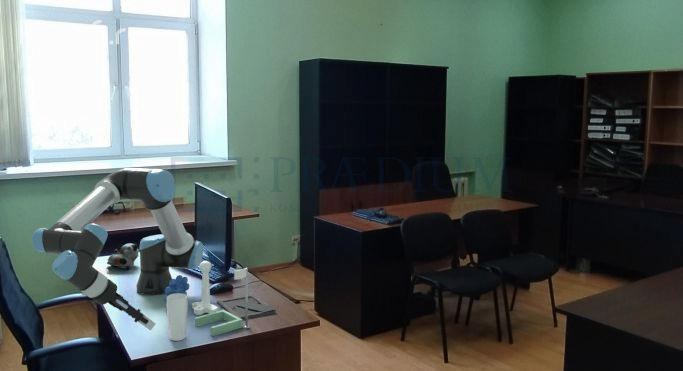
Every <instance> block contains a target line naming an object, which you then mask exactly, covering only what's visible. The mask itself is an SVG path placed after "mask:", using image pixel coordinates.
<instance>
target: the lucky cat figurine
mask: <svg viewBox="0 0 683 371" xmlns="http://www.w3.org/2000/svg"><path fill="white" fill-rule="evenodd" d="M139 253H140V250H139V249H138V243H130V242H129V243H126V244H124V245H122V246H121V247H120V251H119V250H118V249H117V248H115V249H114V250H113V253H112V254H111V255H109V257H108V258H107V262H106V264H107V265H109V266H111V267H113V266H114V267H118V268H121V269H126V270H128V271H130V270H131V269H132V268H134V267H135V266H134V265H135V261H136V259H138V257H139Z"/></svg>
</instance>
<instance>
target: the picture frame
mask: <svg viewBox="0 0 683 371" xmlns="http://www.w3.org/2000/svg"><path fill="white" fill-rule="evenodd" d="M216 304H217V305H219V306H220V307H221V308H222V310H225V311H227V312H229V313H231V314H233V315H235V316H237V317H239V318H241V319H242V321H243V320H245V295H242V296H236V297H229V298H223V299H218V300H216ZM276 313H277V312H276V308H275V307H273V306H272V305H269V304H268V303H266V302H265V301H264V300H263V299H261V298H259V297H258V296H257V295H255V294H254V293H253V294H248V319H251V318H253V319H254V318H257V317H263V316H268V315H273V314H276Z"/></svg>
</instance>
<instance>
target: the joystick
mask: <svg viewBox="0 0 683 371" xmlns="http://www.w3.org/2000/svg"><path fill="white" fill-rule="evenodd" d="M198 267H199V270H200V271H201V273H202V275H201V276H202V278H201V279H202V280H201V301H196V302H192V303H191V305H192V306H191V309H192V310H193V313H194V314H195V315H196V316H203V315H204V314H206V313H207V314H210V313H214V312H217V311H219V307H218V306H216V305H215V304H212V303H211V294H210V293H211V292H210V278H209V273H210V271H211V269H212V263H211V262H210V261H208V260H203V261H201V263H200V265H199V266H198Z"/></svg>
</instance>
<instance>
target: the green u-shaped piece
mask: <svg viewBox="0 0 683 371" xmlns="http://www.w3.org/2000/svg"><path fill="white" fill-rule="evenodd" d="M221 320H224V321H226V322H223V323H219V324H217V325H213V326H210V336H212V337H215V336H218V335H222V334H224V333H228V332H231V331H235V330H238V329H241V328H243V320H242V319H241V318H239V317H237V316H235V315H233V314H231V313H229V312H227V311H225V310H224V309H221V310H218V311H217V312H214V313H210V314H209V313H207V314H206V313H205V314H202V315H198V316H196V317H194V326H195V327H199V326H203V325H207V324H211V323H214V322H218V321H221Z"/></svg>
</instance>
